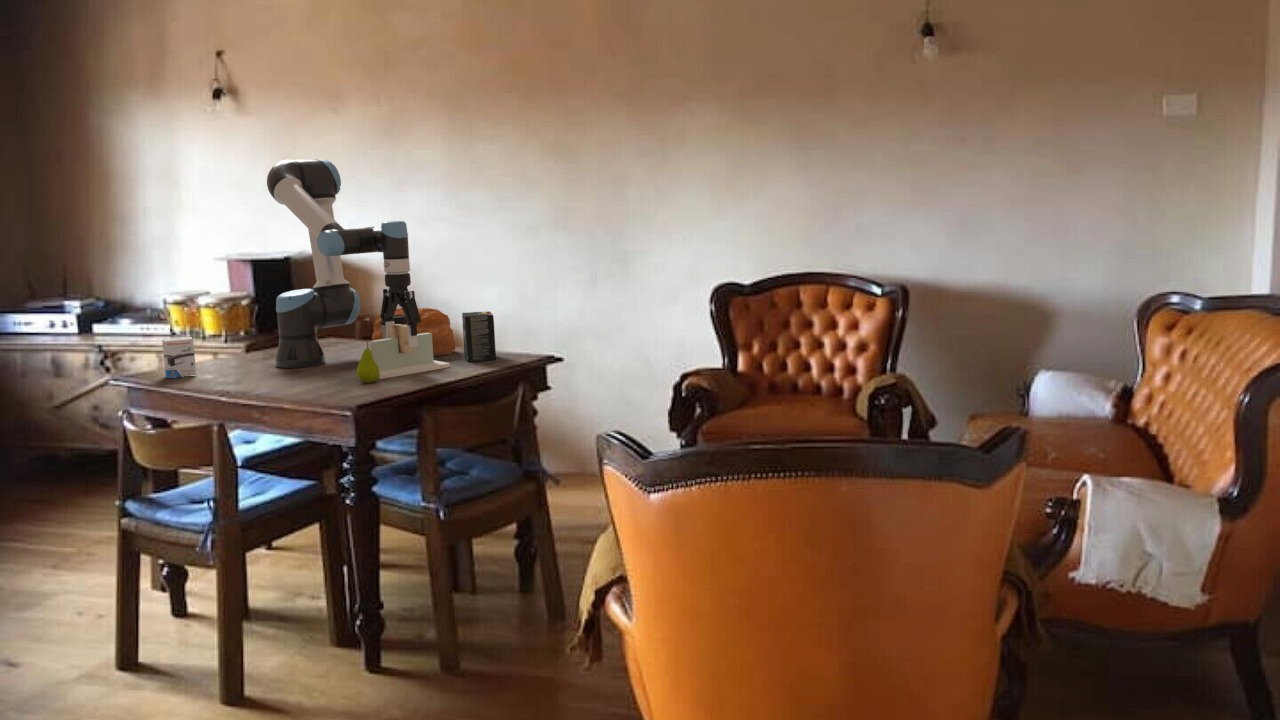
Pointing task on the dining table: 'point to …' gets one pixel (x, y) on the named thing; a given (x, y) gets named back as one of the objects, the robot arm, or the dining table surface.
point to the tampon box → (479, 336)
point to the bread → (427, 329)
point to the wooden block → (401, 337)
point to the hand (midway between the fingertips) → (402, 344)
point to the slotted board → (404, 357)
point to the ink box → (179, 357)
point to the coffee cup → (398, 320)
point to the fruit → (367, 367)
